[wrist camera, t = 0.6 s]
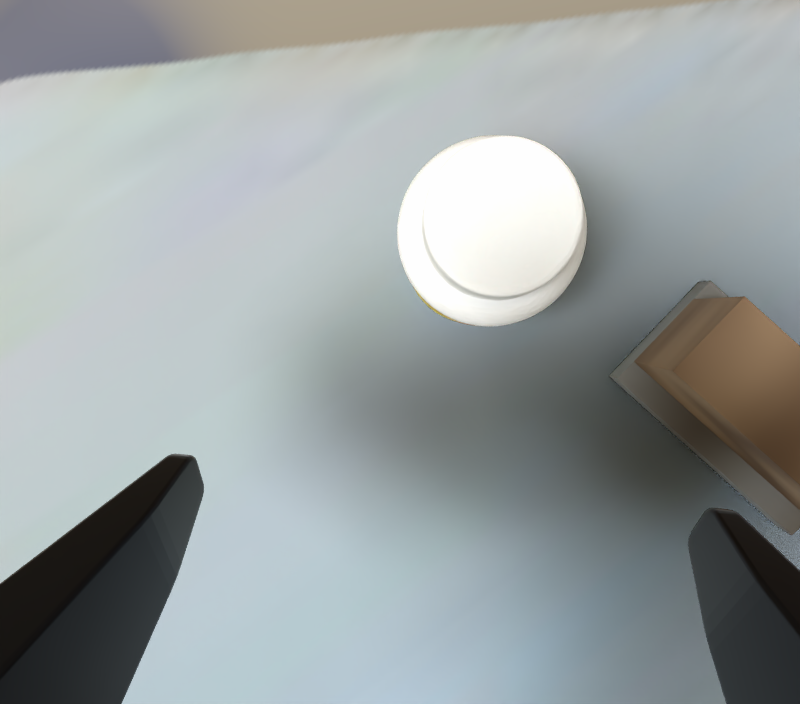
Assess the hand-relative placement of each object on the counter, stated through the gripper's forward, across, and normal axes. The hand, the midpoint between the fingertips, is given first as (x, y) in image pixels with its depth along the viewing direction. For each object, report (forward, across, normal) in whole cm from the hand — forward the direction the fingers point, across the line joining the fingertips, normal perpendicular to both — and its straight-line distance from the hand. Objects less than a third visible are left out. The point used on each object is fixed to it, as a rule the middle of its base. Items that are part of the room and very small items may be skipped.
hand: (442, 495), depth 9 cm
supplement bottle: (+15, -1, +3) cm, 16 cm away
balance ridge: (+12, -13, +7) cm, 19 cm away
